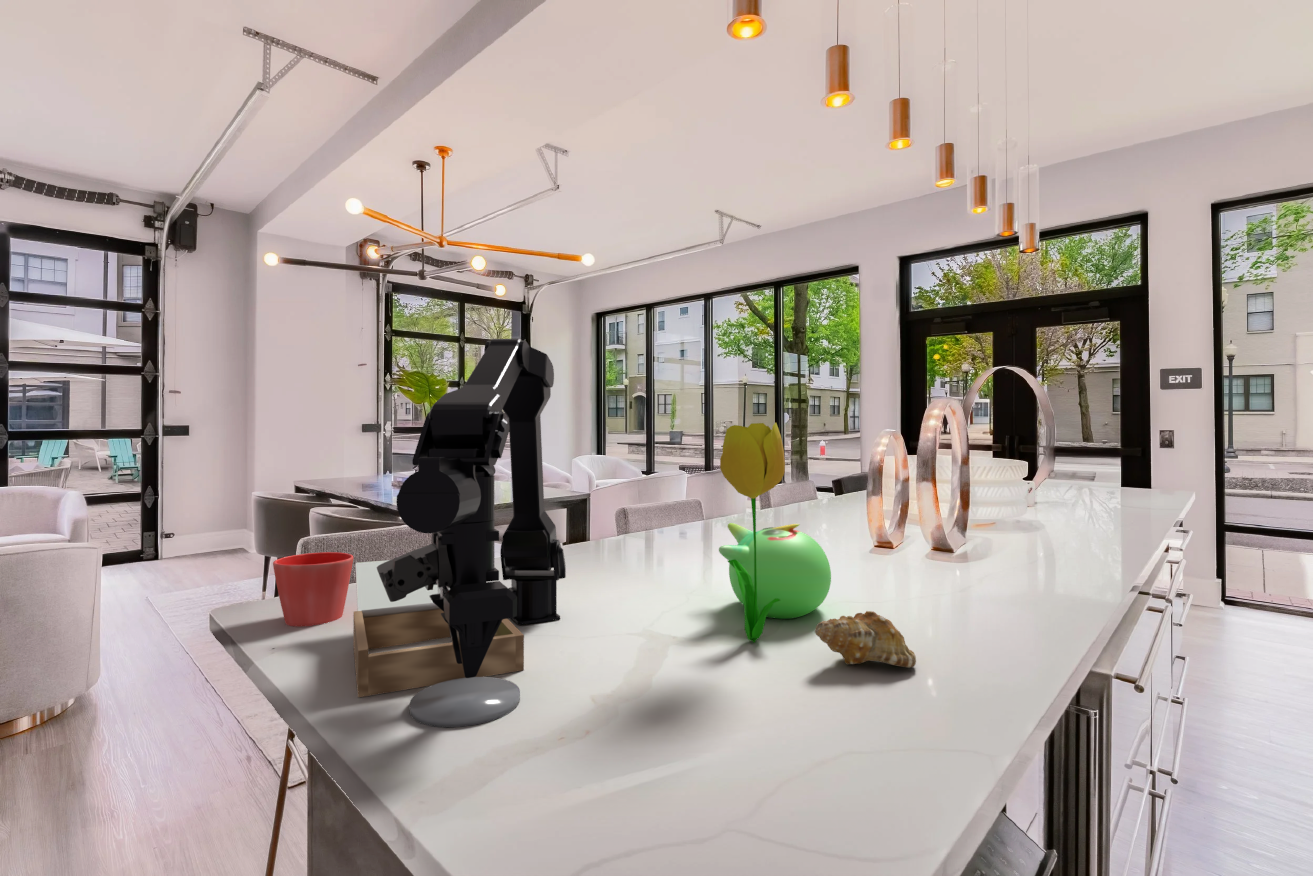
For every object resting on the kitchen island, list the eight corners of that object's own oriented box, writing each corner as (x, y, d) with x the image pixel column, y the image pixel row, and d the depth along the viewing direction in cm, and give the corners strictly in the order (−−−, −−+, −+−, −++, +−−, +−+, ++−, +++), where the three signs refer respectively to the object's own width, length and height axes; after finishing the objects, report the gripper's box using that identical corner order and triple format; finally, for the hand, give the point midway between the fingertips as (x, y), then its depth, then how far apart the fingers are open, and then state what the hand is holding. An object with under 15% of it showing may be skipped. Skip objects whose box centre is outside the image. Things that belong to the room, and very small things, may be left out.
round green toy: (837, 635, 90) (837, 531, 90) (718, 630, 92) (717, 529, 92) (825, 604, 107) (824, 517, 107) (725, 600, 110) (724, 515, 110)
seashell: (887, 707, 71) (841, 631, 71) (839, 696, 78) (798, 627, 78) (933, 655, 75) (890, 583, 75) (883, 650, 82) (844, 584, 82)
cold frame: (490, 631, 92) (490, 596, 92) (523, 670, 76) (523, 628, 76) (353, 649, 84) (353, 611, 84) (358, 697, 68) (358, 650, 68)
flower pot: (320, 633, 91) (320, 565, 91) (255, 628, 93) (256, 562, 94) (368, 613, 102) (368, 553, 102) (308, 610, 104) (309, 551, 104)
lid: (473, 614, 101) (473, 553, 101) (488, 633, 91) (488, 565, 91) (355, 629, 93) (355, 562, 93) (357, 650, 83) (358, 576, 83)
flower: (792, 641, 87) (791, 422, 87) (778, 659, 80) (777, 420, 80) (732, 633, 91) (731, 423, 91) (713, 650, 83) (712, 422, 84)
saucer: (506, 677, 73) (506, 670, 73) (532, 713, 64) (532, 705, 64) (404, 694, 68) (404, 687, 68) (416, 736, 59) (416, 727, 59)
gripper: (376, 515, 71) (376, 655, 71) (390, 537, 54) (389, 719, 54) (478, 510, 76) (478, 641, 76) (518, 529, 59) (518, 696, 59)
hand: (466, 670), depth 66 cm, fingers open, 4 cm apart
